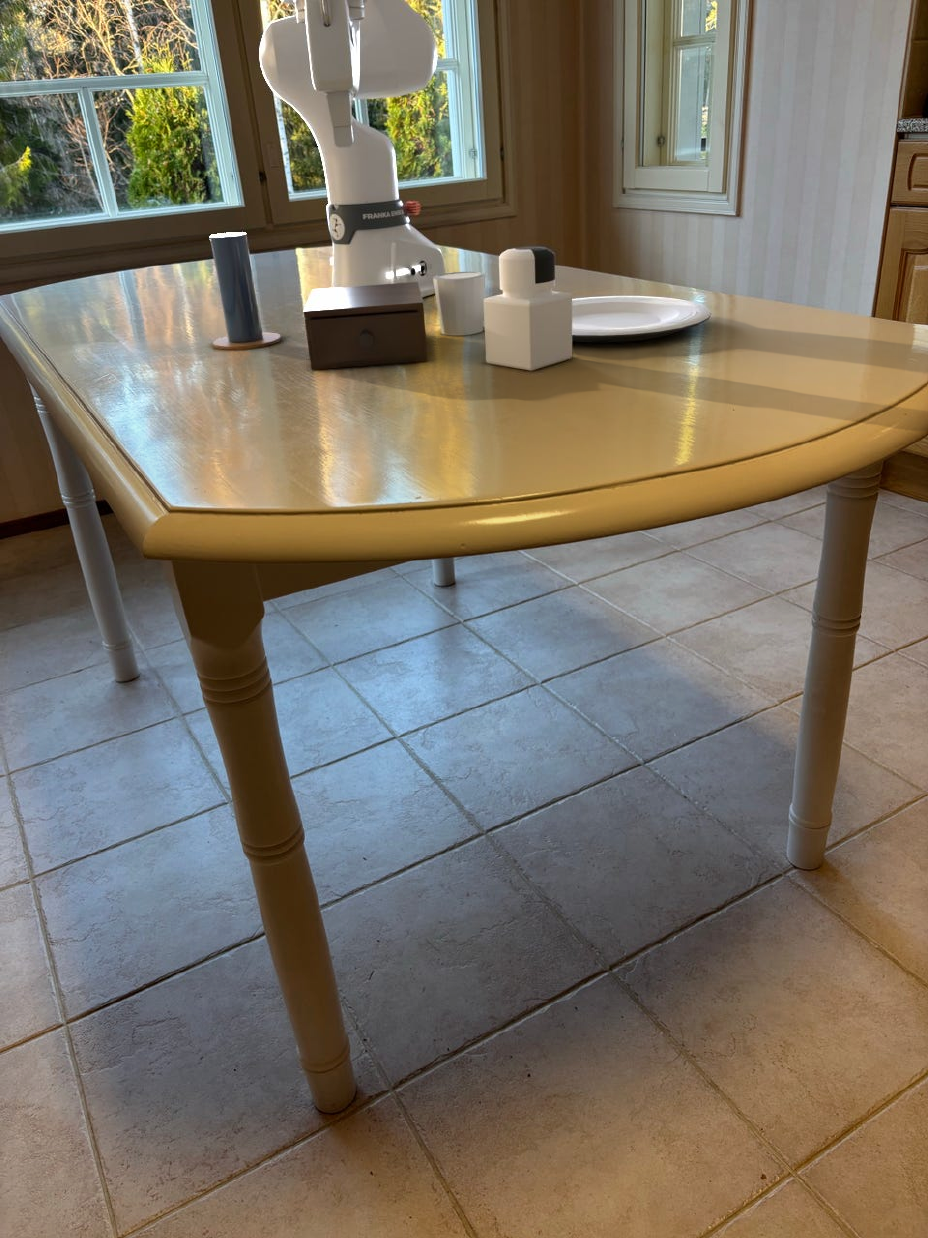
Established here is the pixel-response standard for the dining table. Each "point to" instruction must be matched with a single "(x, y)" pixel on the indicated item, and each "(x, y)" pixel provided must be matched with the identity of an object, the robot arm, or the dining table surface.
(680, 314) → the plate
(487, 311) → the medicine bottle
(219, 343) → the coaster
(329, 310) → the cabinet
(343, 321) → the drawer
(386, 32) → the robot arm
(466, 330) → the white cup
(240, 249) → the cylinder
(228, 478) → the dining table surface
